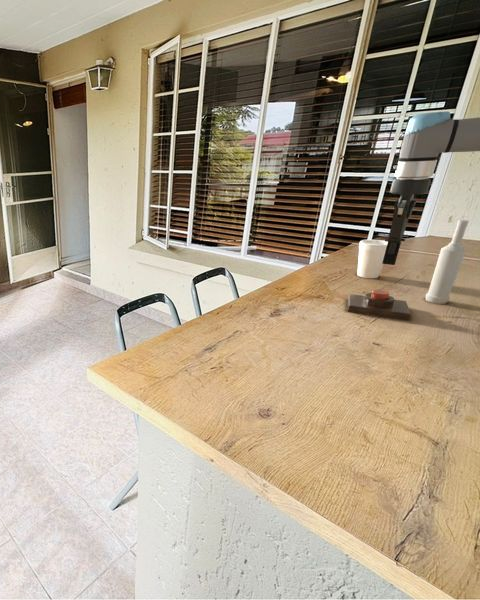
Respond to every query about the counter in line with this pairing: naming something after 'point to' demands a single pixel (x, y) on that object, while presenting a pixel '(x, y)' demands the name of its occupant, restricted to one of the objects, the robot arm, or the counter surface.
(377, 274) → the foam cup
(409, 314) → the control block
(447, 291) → the bottle
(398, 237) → the robot arm
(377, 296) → the press knob
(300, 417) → the counter surface
